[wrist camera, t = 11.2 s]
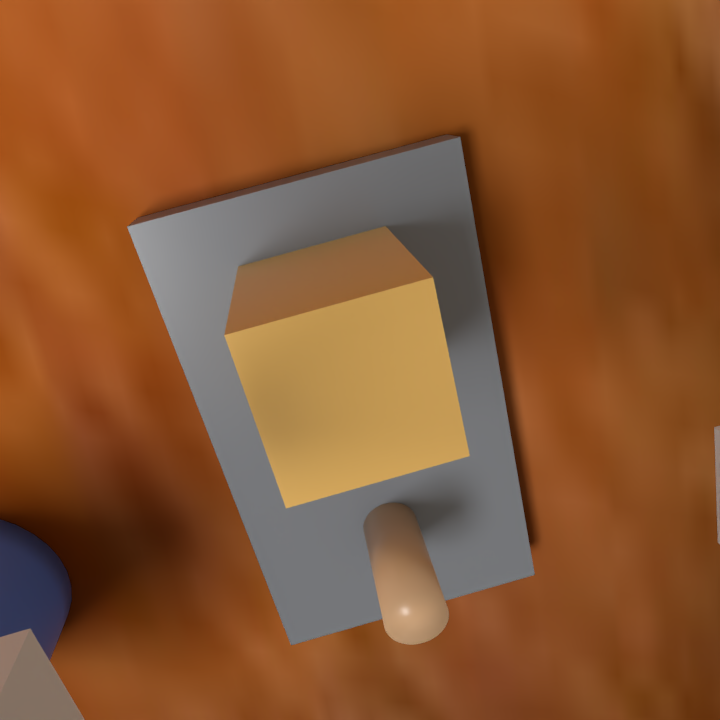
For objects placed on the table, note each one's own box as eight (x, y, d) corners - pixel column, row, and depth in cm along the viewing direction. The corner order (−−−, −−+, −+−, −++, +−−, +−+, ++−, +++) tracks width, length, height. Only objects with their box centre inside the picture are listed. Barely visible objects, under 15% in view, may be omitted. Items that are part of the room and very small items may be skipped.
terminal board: (290, 616, 34) (295, 756, 27) (137, 217, 26) (83, 264, 18) (520, 549, 35) (587, 670, 27) (446, 134, 26) (516, 146, 19)
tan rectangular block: (282, 398, 27) (285, 508, 20) (238, 266, 25) (224, 335, 18) (416, 360, 27) (469, 455, 20) (385, 225, 25) (432, 276, 18)
